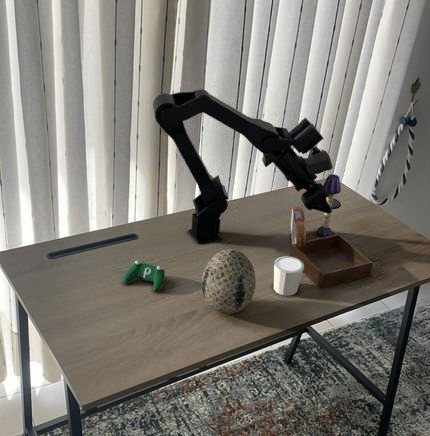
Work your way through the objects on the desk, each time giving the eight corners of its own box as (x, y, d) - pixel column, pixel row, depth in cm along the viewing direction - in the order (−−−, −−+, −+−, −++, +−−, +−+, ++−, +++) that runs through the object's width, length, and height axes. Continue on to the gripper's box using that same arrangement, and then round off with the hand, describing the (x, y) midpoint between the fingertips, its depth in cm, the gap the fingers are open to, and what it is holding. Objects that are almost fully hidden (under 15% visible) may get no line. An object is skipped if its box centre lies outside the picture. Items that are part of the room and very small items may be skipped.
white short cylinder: (280, 300, 155) (284, 275, 151) (265, 284, 160) (268, 259, 156) (305, 293, 158) (310, 268, 154) (289, 277, 162) (293, 253, 158)
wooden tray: (321, 288, 160) (323, 274, 158) (289, 257, 170) (291, 243, 168) (369, 275, 165) (373, 262, 163) (336, 246, 176) (339, 233, 173)
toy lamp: (311, 232, 180) (321, 175, 170) (321, 226, 183) (331, 170, 173) (325, 239, 178) (336, 182, 168) (335, 233, 181) (347, 177, 171)
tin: (304, 258, 170) (309, 229, 165) (291, 257, 169) (296, 228, 164) (299, 227, 182) (303, 200, 177) (287, 226, 182) (292, 199, 177)
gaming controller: (162, 294, 157) (170, 270, 157) (158, 291, 153) (165, 266, 154) (126, 285, 159) (133, 261, 159) (121, 281, 155) (129, 257, 156)
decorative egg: (192, 298, 153) (195, 242, 144) (239, 289, 157) (245, 234, 148) (211, 329, 145) (216, 271, 136) (260, 319, 149) (268, 262, 140)
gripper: (326, 159, 157) (362, 201, 165) (306, 127, 172) (340, 167, 180) (289, 190, 160) (326, 229, 169) (272, 156, 175) (307, 194, 183)
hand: (325, 203), depth 175 cm, fingers open, 9 cm apart
